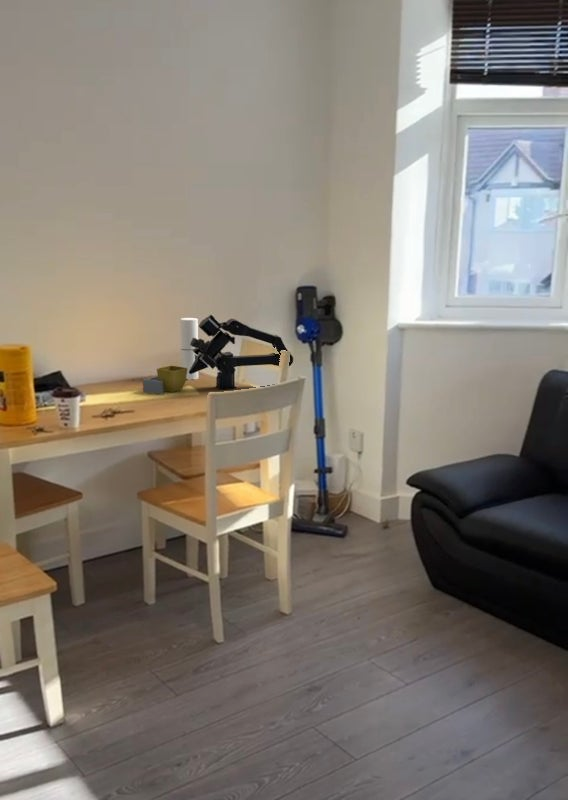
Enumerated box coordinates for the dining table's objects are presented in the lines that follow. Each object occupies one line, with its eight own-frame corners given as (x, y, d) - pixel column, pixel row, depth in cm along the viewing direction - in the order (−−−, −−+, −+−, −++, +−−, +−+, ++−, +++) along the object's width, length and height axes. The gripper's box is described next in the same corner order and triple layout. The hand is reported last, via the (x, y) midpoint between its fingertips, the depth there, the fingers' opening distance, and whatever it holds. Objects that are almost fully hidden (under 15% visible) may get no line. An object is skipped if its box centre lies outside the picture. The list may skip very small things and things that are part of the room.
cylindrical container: (179, 379, 323) (178, 319, 317) (184, 375, 330) (183, 317, 324) (195, 380, 322) (195, 320, 316) (200, 376, 329) (199, 318, 323)
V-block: (158, 387, 307) (158, 375, 305) (163, 394, 295) (163, 381, 294) (141, 388, 304) (140, 376, 303) (145, 395, 293) (145, 382, 292)
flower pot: (188, 390, 304) (188, 367, 302) (173, 394, 296) (173, 371, 294) (171, 387, 308) (170, 365, 306) (156, 391, 301) (155, 368, 299)
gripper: (197, 327, 309) (170, 355, 308) (207, 334, 292) (179, 364, 291) (216, 345, 313) (190, 373, 313) (227, 353, 296) (199, 383, 295)
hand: (189, 373), depth 303 cm, fingers closed
